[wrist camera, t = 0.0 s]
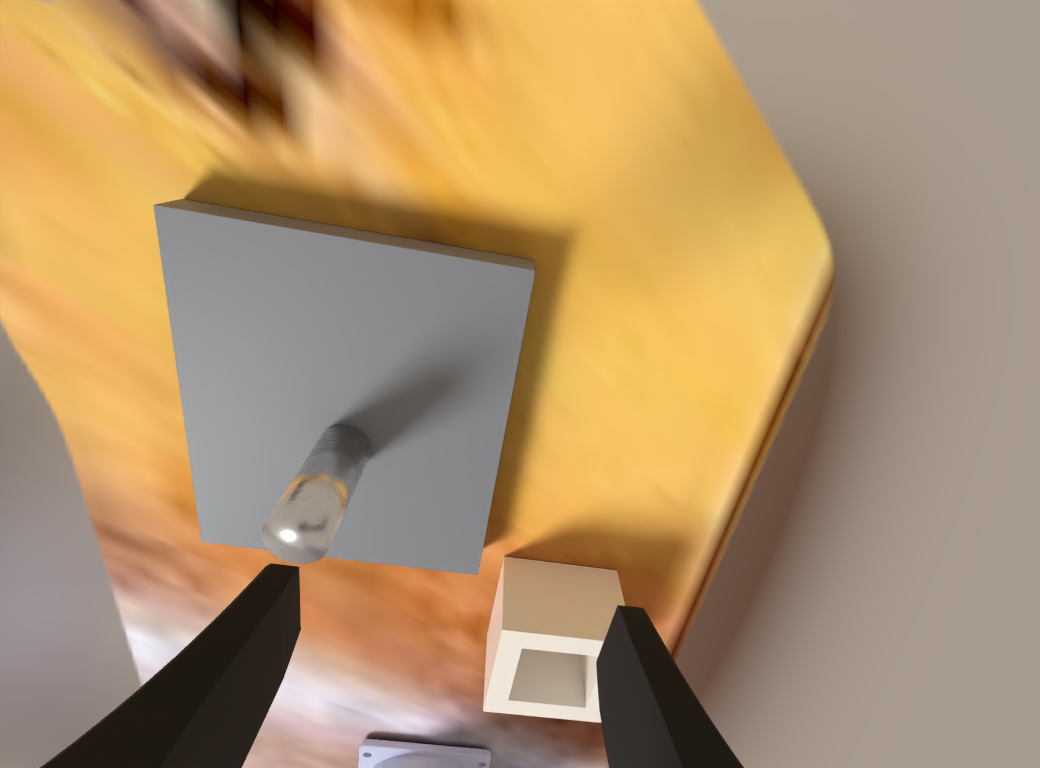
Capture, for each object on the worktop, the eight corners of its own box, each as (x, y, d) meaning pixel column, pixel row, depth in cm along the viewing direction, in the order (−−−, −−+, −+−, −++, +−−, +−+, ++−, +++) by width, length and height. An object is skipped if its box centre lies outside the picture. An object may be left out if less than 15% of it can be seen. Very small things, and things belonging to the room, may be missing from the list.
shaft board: (479, 550, 24) (468, 683, 18) (219, 518, 23) (120, 648, 17) (534, 260, 18) (542, 322, 12) (182, 199, 17) (8, 234, 11)
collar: (590, 645, 27) (601, 722, 24) (487, 633, 27) (483, 711, 23) (616, 570, 25) (634, 644, 21) (503, 556, 24) (502, 629, 21)
